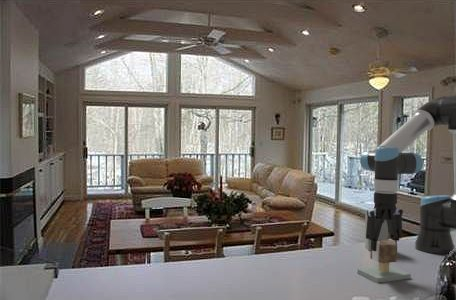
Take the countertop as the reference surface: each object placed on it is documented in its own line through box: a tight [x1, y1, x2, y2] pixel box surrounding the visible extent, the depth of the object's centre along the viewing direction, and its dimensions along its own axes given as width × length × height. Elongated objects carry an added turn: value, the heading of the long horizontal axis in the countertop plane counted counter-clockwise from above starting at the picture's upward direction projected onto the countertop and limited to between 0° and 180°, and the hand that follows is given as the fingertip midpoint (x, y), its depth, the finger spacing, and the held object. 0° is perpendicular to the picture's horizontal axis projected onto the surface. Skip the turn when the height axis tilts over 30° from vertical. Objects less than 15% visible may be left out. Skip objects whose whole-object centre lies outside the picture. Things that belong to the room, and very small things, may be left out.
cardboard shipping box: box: [370, 240, 398, 264], centre depth 143 cm, size 6×6×6 cm
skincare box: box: [364, 211, 389, 252], centre depth 178 cm, size 8×7×16 cm
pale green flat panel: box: [356, 262, 412, 284], centre depth 144 cm, size 14×10×6 cm
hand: (383, 259), depth 144 cm, fingers closed on cardboard shipping box, 6 cm apart
